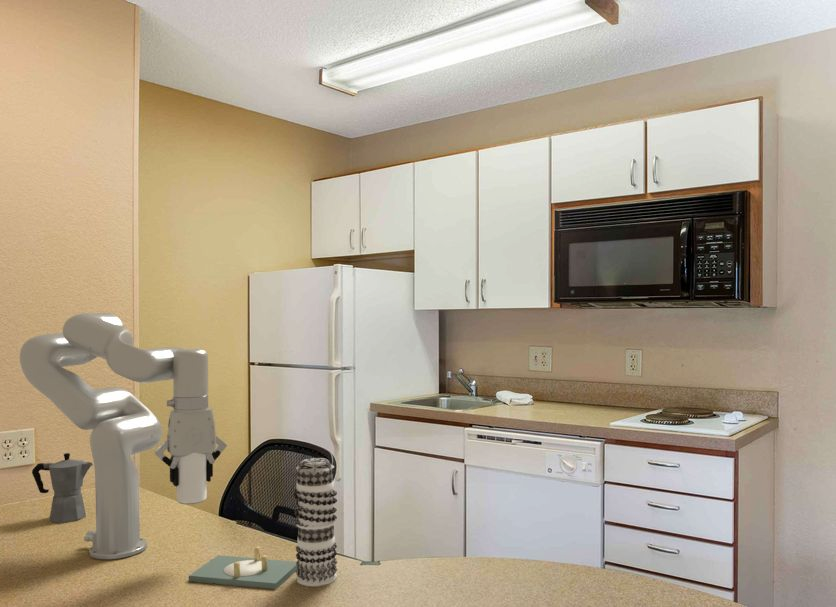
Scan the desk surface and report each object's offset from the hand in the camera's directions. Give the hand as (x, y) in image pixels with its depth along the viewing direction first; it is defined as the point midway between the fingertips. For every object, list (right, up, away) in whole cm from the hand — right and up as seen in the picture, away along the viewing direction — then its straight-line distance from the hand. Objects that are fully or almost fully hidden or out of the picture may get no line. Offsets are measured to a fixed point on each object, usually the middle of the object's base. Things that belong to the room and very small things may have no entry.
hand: (191, 481), depth 157 cm
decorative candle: (+30, -18, -10) cm, 36 cm away
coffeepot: (-47, -19, +34) cm, 61 cm away
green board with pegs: (+14, -18, -8) cm, 24 cm away
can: (0, -4, 0) cm, 4 cm away
